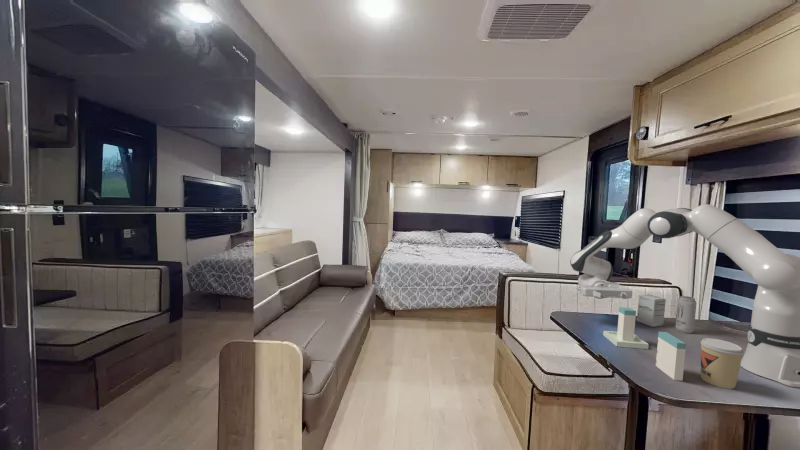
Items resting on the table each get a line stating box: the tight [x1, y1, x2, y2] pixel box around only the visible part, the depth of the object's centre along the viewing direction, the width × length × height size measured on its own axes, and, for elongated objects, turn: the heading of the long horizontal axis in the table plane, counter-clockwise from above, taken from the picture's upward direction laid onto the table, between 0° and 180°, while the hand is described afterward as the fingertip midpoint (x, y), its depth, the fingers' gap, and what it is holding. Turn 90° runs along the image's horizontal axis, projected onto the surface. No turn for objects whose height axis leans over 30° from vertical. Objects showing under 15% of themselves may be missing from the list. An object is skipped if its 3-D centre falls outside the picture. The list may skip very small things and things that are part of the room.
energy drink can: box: [675, 295, 697, 334], centre depth 142 cm, size 6×6×15 cm
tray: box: [602, 330, 649, 350], centre depth 130 cm, size 11×11×2 cm
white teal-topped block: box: [616, 306, 637, 341], centre depth 129 cm, size 4×4×12 cm
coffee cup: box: [700, 337, 744, 390], centre depth 101 cm, size 9×9×12 cm
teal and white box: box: [655, 331, 687, 382], centre depth 106 cm, size 3×9×12 cm, turn 172°
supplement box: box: [636, 293, 667, 328], centre depth 151 cm, size 7×7×13 cm
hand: (613, 296), depth 140 cm, fingers open, 8 cm apart
